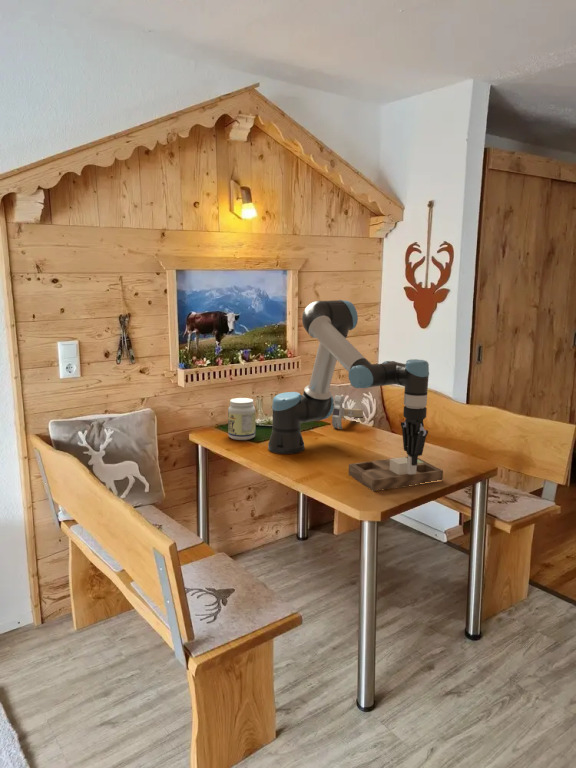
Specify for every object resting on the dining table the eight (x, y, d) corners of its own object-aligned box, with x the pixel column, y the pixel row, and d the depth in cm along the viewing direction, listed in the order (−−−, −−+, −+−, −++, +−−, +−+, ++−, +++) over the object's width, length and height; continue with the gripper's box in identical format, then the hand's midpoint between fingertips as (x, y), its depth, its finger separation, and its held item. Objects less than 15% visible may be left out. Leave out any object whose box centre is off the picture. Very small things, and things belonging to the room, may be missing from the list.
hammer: (356, 398, 294) (333, 395, 268) (364, 398, 292) (342, 396, 266) (352, 428, 294) (329, 428, 268) (361, 429, 292) (338, 429, 265)
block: (398, 475, 196) (399, 464, 196) (389, 469, 202) (390, 458, 201) (413, 473, 199) (414, 462, 198) (404, 467, 204) (404, 457, 203)
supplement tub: (224, 435, 259) (223, 398, 256) (249, 432, 264) (248, 396, 261) (234, 442, 248) (234, 404, 245) (259, 438, 253) (259, 401, 250)
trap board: (373, 491, 192) (373, 480, 191) (348, 474, 208) (348, 464, 208) (442, 481, 202) (443, 470, 201) (413, 465, 218) (414, 455, 218)
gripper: (436, 409, 186) (432, 478, 190) (413, 401, 198) (410, 466, 202) (416, 411, 183) (413, 481, 187) (395, 402, 195) (392, 468, 199)
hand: (411, 473), depth 195 cm, fingers closed
